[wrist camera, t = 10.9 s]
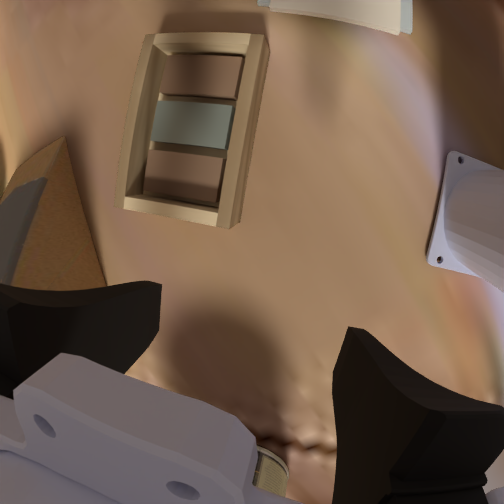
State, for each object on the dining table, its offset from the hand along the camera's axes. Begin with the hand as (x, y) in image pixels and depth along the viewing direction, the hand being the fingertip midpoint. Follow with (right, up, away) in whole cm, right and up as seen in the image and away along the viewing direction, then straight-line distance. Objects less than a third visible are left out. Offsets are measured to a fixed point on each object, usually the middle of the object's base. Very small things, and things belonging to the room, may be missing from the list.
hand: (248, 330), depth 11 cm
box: (-4, +11, +9) cm, 15 cm away
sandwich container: (-17, +5, +13) cm, 22 cm away
